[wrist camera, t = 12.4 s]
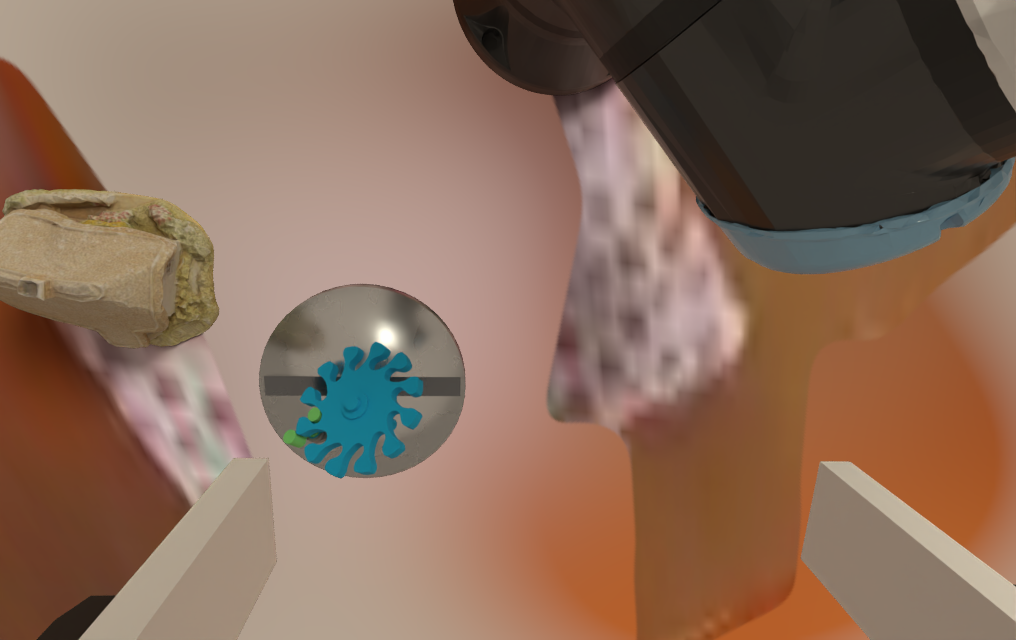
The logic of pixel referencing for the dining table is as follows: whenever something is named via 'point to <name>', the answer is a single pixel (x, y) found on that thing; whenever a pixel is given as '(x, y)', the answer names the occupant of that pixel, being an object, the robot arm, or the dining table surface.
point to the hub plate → (360, 322)
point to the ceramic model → (108, 265)
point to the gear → (356, 411)
